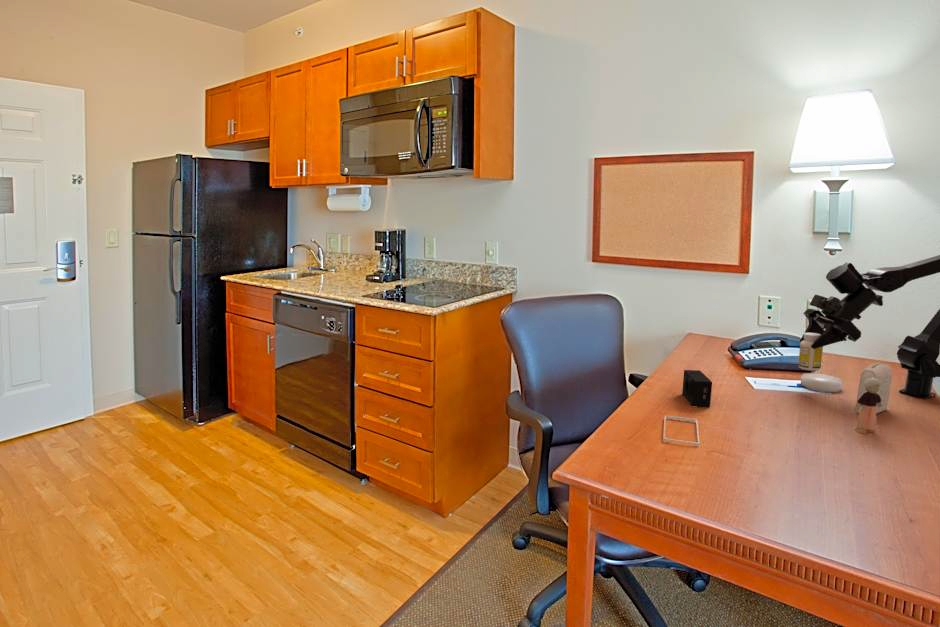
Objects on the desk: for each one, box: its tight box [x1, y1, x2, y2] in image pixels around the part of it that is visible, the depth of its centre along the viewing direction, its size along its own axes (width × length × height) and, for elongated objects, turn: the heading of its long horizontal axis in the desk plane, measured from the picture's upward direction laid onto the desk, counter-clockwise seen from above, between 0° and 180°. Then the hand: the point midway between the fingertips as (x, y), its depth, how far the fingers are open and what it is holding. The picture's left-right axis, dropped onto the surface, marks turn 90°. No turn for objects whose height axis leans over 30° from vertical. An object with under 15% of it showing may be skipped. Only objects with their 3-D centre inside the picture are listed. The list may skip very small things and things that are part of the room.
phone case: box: [662, 415, 700, 447], centre depth 129 cm, size 7×1×15 cm
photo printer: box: [855, 362, 894, 414], centre depth 142 cm, size 10×4×12 cm, turn 123°
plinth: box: [800, 372, 843, 393], centre depth 162 cm, size 10×10×2 cm
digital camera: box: [681, 369, 713, 408], centre depth 149 cm, size 10×5×7 cm, turn 174°
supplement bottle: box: [797, 332, 824, 372], centre depth 156 cm, size 5×5×10 cm
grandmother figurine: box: [853, 378, 882, 435], centre depth 129 cm, size 8×4×13 cm, turn 117°
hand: (806, 345), depth 156 cm, fingers closed on supplement bottle, 5 cm apart
